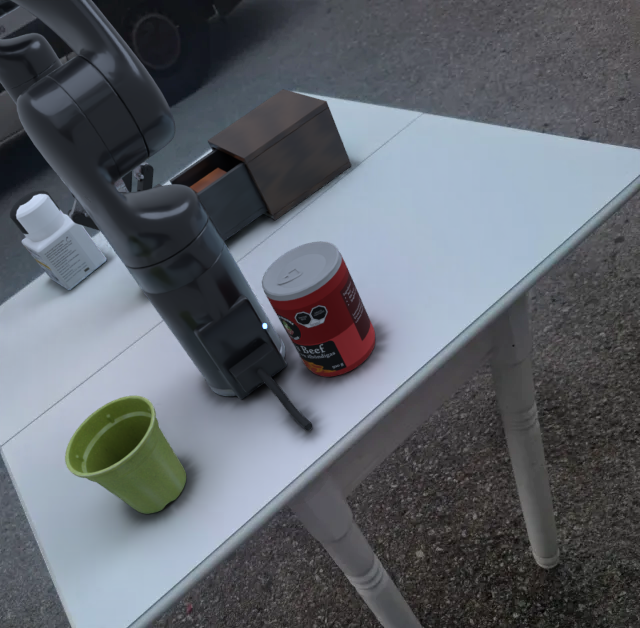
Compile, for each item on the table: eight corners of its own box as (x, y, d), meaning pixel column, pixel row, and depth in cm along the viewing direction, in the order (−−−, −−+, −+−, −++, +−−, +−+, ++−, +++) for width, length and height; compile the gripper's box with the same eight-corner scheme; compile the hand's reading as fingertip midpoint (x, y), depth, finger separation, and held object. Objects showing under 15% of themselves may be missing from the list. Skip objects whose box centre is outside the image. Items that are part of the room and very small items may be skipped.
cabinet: (275, 220, 97) (243, 158, 91) (237, 198, 107) (206, 140, 100) (352, 165, 99) (326, 100, 93) (308, 148, 108) (283, 88, 102)
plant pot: (105, 533, 69) (48, 480, 63) (136, 457, 75) (87, 402, 69) (186, 526, 65) (133, 469, 59) (212, 446, 71) (167, 388, 65)
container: (51, 280, 113) (-5, 211, 105) (88, 250, 115) (37, 181, 107) (69, 291, 108) (12, 220, 99) (108, 260, 110) (55, 187, 101)
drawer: (184, 274, 95) (153, 226, 90) (157, 250, 104) (127, 204, 98) (282, 205, 97) (258, 154, 92) (248, 186, 106) (223, 138, 101)
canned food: (292, 364, 75) (246, 283, 67) (345, 316, 77) (305, 233, 69) (337, 389, 69) (292, 305, 62) (393, 337, 71) (355, 249, 64)
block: (232, 175, 95) (202, 195, 95) (248, 206, 99) (220, 226, 98) (217, 167, 99) (188, 187, 98) (234, 198, 102) (206, 217, 102)
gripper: (30, 167, 81) (115, 284, 93) (124, 105, 83) (196, 227, 95) (17, 155, 87) (100, 266, 99) (106, 96, 89) (177, 213, 100)
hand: (147, 247), depth 97 cm, fingers closed
